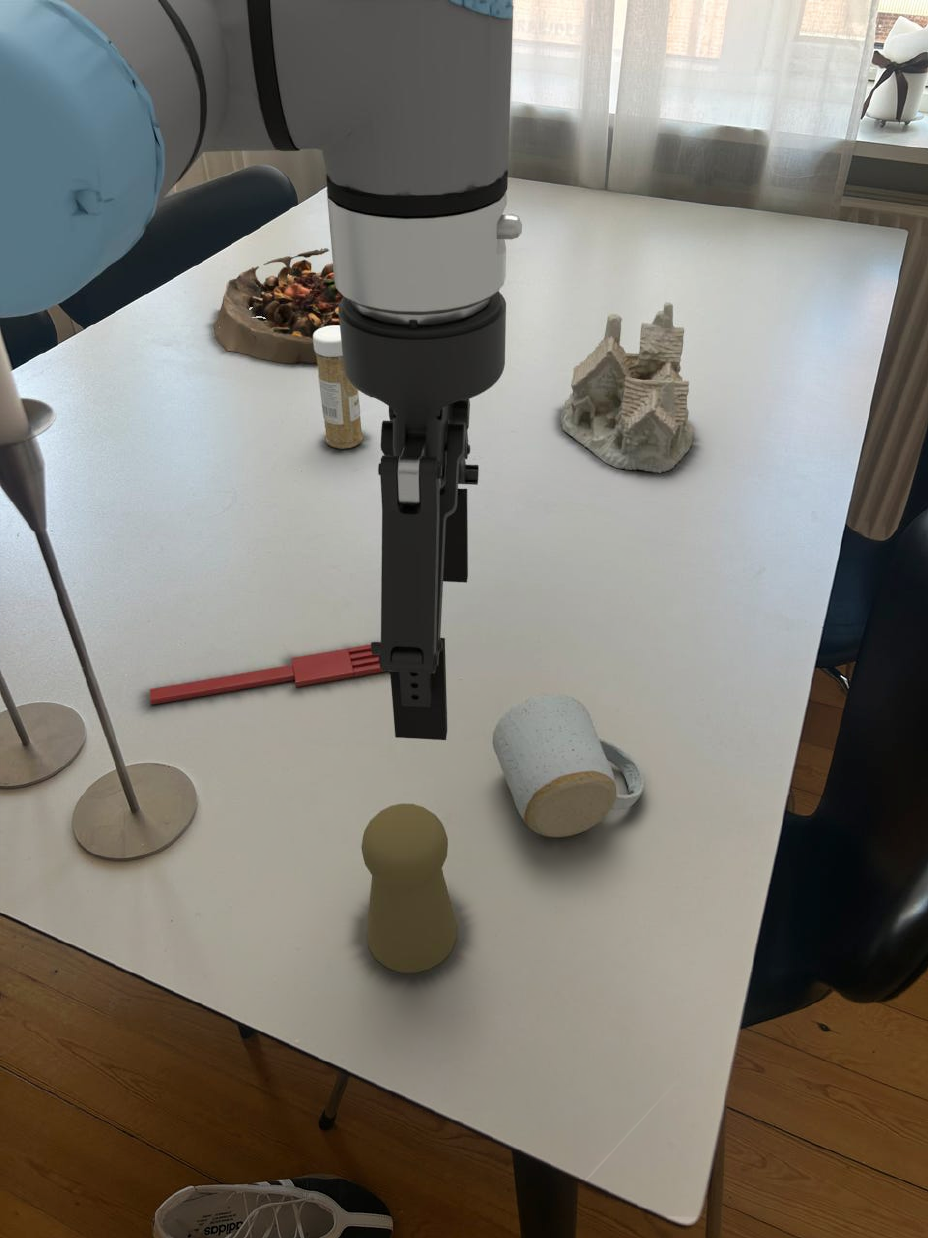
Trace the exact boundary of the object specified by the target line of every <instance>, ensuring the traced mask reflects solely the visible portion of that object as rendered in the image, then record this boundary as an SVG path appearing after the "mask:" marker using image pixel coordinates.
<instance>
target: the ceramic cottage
mask: <svg viewBox="0 0 928 1238" xmlns="http://www.w3.org/2000/svg"><path fill="white" fill-rule="evenodd" d="M622 321H623V318H622V317H621V316H620V315H619V314H618V313H609V314H608V315H607V320H606V325H605V332H604V336H603V339H602V340H600V342H599V343H598V345H597V346H596V347H595V349H594V350H593V351H592V352H590V353H589V354H588V355H587V356H586V358H585V359H584V360H583V361H580V362H579V364H578V365H575V366H574V367H573V373H572V374H573V375H572V380H571V384H570V387H571V389H572V393H570V394H569V397H568V398H567V399H566V400H564V405H563V406H562V412H561V416H560V418H559V419H560V424H561V428H562V430H563V432H565V433H566V434H568V435H569V436H571V437H572V438H573V439H574V440H575V441H577V442H578V443H580V444H581V445H583V446H584V448H587V449H588V450H589V451H590V452H592V453H593V455H595V456H597V458H598V459H600V460H601V461H602V462H604V463H605V464H607V465H610V466H612V467H614V468H616V469H620V470H621V469H623V470H624V469H625V470H626V471H629V470H630V471H632V470H634V471H636V470H641V471H644V472H652V473H658V474H662V472H663V473H665V472H668V471H670V470H672V469H673V468H675V465H678V464H679V462H680V461H682V459H683V457H684V456H685V455H686V454H687V453H688V452H689V451H690V448H691V447H692V444H693V433H694V432H693V431H694V430H693V429H694V428H693V426H692V425H691V423H690V422H689V415H690V411H689V409H688V395H689V391H690V389H689V385H690V380H683V376H681V375H680V374H679V373H680V372H681V361H682V358H681V357H682V354H683V350H684V349H683V348H684V336H685V327H681V326H679V327H675V326H674V305H673V303H671V302H669V301H665V303H664V305H663V310H658V311H657V313H656V315H655V316H654V318H653V321H652V322H651V323H648V322H642V323H641V326H640V338H639V340H640V341H639V351H638V353H630V352H626V351H625V349H624V347H623V346H621V345H620V344H621V335H622V333H621V332H622Z"/></svg>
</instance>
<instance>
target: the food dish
mask: <svg viewBox="0 0 928 1238" xmlns="http://www.w3.org/2000/svg"><path fill="white" fill-rule="evenodd" d="M329 251H330V249H328V248H327V247H324V248H322V247H321V248H320V250H318V249H314V250H309V251H305V252H304V251H303V252H302V253H299V254H297V255H295V256H290V255H289V256H288V255H287V256H284V257H279V258H275V259H272V260H269V261H267V262H265V263H263V266H267V265H269V264H273V263H274V264H275V263H282V264H284V265H285V266H283V267H282V268H281V269H280V271H279V272H278V273H277V276H276V275H269V276H268V277H266V278H265V281H264V282H263V283H262V282H261V281H260V280H259V279H258V276H257V274H256V273H257V270H259V268H260V265H257V266H255V267H254V266H253V267H251V268H249V269H247V270H245V271H243V272H241V273H239V274H238V276H237V277H236V278H233V279H230V280H228V282H227V283H226V288H225V291H224V295H223V297H222V303H221V306H220V308H219V311H218V315H217V318H216V320H215V322H214V323H213V324H212V326H213V329H214V335H215V336H214V338H215V340H216V341H217V342H218V343H219V345H221V347H222V348H224V350H225V351H227V352H233V353H238V354H239V353H240V354H243V355H247V356H251V357H253V358H256V359H261V360H266V361H271V362H276V363H281V364H295V363H298V362H300V363H301V362H302V363H306V364H317V356H316V353H315V350H314V344H313V334H314V332H315V331H316V330H318V329H320V328H322V327H326V326H332V325H340V322H339V311H338V306H339V303H340V301H341V300H342V298H343V297H344V296H343V295H342V294H341V293H340V292H339V291H338V290H337V288H336V286H335V281H334V271H333V262H331V263H328V264H325V265H324V267H323V268H322V270H321V272H320V271H319V272H317V273H316V272H315V271H313V270H312V263H311V262H310V261H309V260H306V259H307V258H311V257H312V256H319V255H320V256H321V255H323V254H326V253H328V252H329ZM299 257H302V258H305V259H301V260H297V261H296V262H294V263H293V264H292V265H291V263H292V260H293V259H294V258H299ZM288 274H289V275H288ZM250 307H253V308H252V309H251V310H249V308H250ZM256 316H262V317H265V318H266V319H263V318H252V317H256ZM219 327H220V328H219Z"/></svg>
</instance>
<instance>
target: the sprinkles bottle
mask: <svg viewBox="0 0 928 1238" xmlns="http://www.w3.org/2000/svg"><path fill="white" fill-rule="evenodd" d="M313 344H314V350H315V353H316V356H317V363H316V364H317V372H318V375H317V377H318V386H319V394H320V402H321V403H320V404H321V410H322V417H323V420H324V429H325V436H324V440H325V442H326V444H327V445H329V446H330V447H332V448H336V449H341V450H344V449H351V448H354V447H356V446H358V445H360V444H361V443H362V442H363V439H364V433H363V431H362V421H361V405H360V396H359V395H360V394H359V390H358V389H357V388H355V387H354V386H353V385H352V384H351V382H350V381H349V380H348V378H347V376H346V374H345V371H344V364H343V353H342V343H341V332H340V325H332V326H326V327H322V328H320V329H318V330H316V331H315V332H314V334H313Z"/></svg>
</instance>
